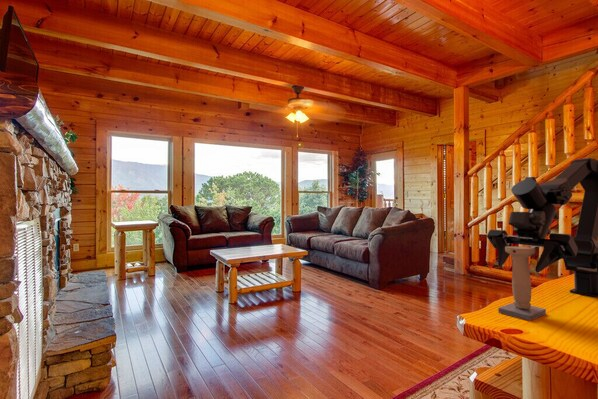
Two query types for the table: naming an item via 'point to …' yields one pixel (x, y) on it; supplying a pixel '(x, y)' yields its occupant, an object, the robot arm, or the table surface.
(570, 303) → the table surface
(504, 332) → the table surface
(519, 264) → the handle
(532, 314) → the plate
